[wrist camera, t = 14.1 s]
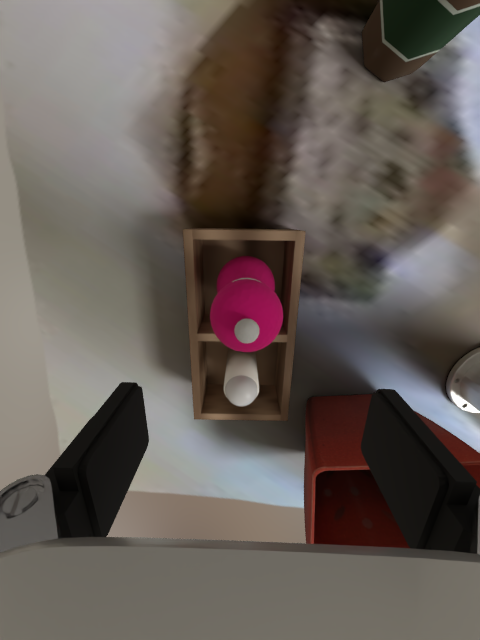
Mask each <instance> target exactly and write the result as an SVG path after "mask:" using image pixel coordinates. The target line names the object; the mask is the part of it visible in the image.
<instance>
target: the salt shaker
mask: <svg viewBox="0 0 480 640" xmlns="http://www.w3.org/2000/svg"><path fill="white" fill-rule="evenodd" d="M258 393H259V381H258V371H257V361H256V352H255V351H254V352H240V351H236V350H233V349H231V348H229V350H228V354H227V363H226V371H225V380H224V394H225V396H226V397H227V398H228V400H229V401H230V402H231V403H232V404H234V405H236V406H247V405H249V404H250V403H252V402H253V401H254V399H255V398H256V397H257V395H258Z"/></svg>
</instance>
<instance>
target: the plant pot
mask: <svg viewBox="0 0 480 640" xmlns="http://www.w3.org/2000/svg"><path fill="white" fill-rule="evenodd" d="M371 396H372V394H364V395H342V396H320V397H311V398H309V399H308V401H307V405H306V418H305V428H306V442H305V468H304V513H305V532H306V544H327V545H350V546H372V547H394V548H410V547H409V546H408V544H407V542H406V540H405V538H404V536H403V534H402V532H401V530H400V528H399V526H398V524H397V522H396V520H395V518H394V516H393V514H392V512H391V510H390V508H389V506H388V504H387V502H386V500H385V498H384V496H383V494H382V492H381V490H380V488H379V486H378V484H377V482H376V480H375V478H374V476H373V474H372V472H371V470H370V468H369V466H368V464H367V463H366V461H365V459H364V457H363V454H362V451H361V441H362V437H363V432H364V428H365V423H366V419H367V414H368V410H369V405H370V401H371ZM414 412H415V411H414ZM415 413H416V414H417V415H418V416H419V418H420V419H421V420H422V421H423V422H424V423H425V424H426V425H427V426H428V428H429V429H430V430H431V431H432V432H433V433H434V434H435V435H436V436H437V438H438V439H439V440H440V441H441V442H442V443H443V444H444V445H445V446H446V448H447V449H448V450H449V451H450V452H451V453H452V454H453V455H454V457H455V458H456V459H457V460H458V461H459V462H460V463H461V464H462V465H463V467H464V468H465V469H466V470H467V471H468V472H469V473H470V474H471V475H472V477H473V478H474V479H475V480H476V481H477V483H476V485H477V486H478V487H479V488H480V453H478V452H477V451H476V450H474V449H473V448H472V447H470V446H469V445H467V444H466V443H465V442H463V441H462V440H460V439H459V438H457V437H456V436H454V435H453V434H452V433H450V432H448V431H447V430H445V429H444V428H442V427H441V426H439V425H437V424H436V423H434V422H433V421H431V420H429V419H427V418H426V417H424V416H422V415H421V414H419V413H417V412H415Z"/></svg>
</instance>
